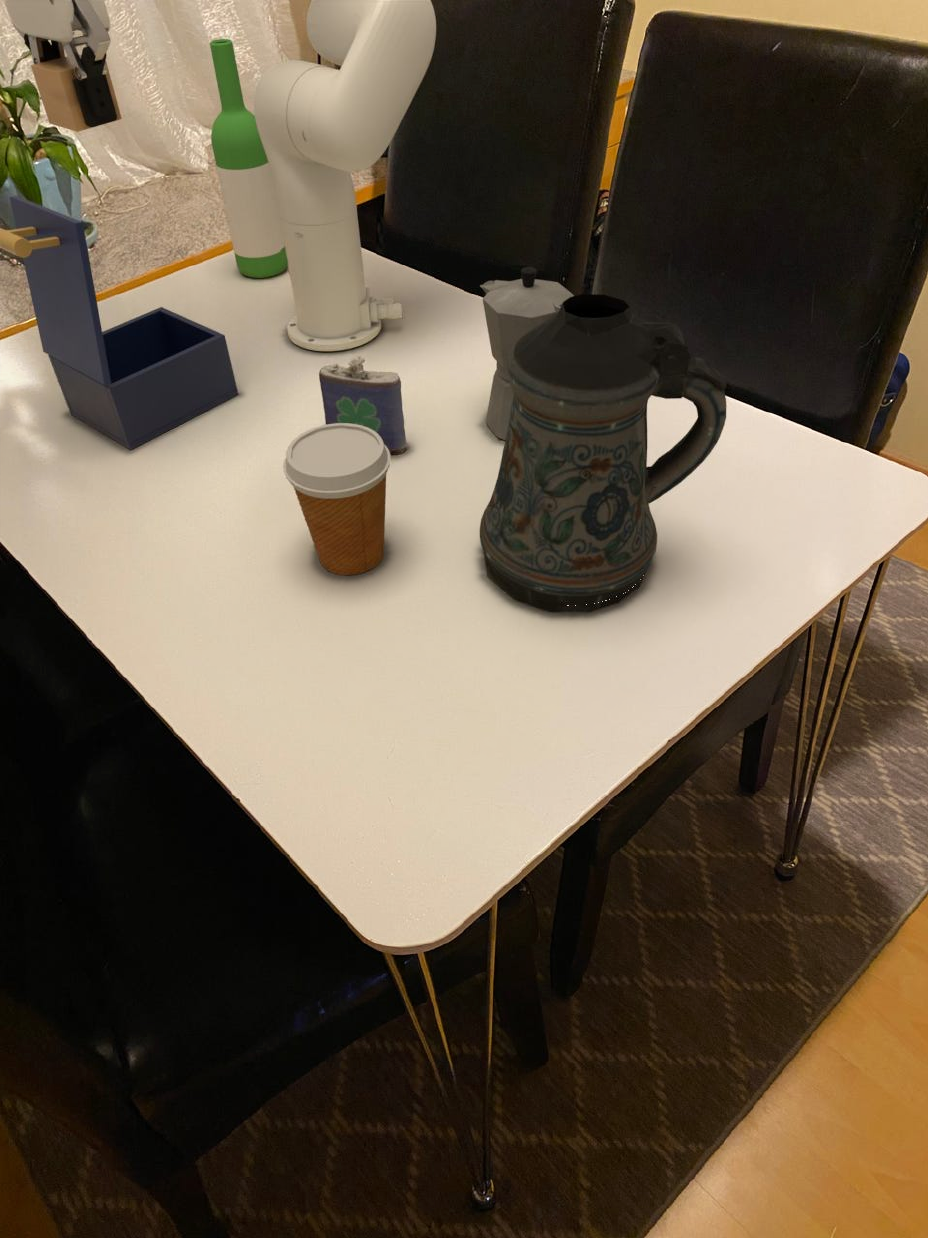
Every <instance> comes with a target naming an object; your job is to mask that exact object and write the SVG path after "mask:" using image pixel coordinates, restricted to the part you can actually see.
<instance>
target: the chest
mask: <svg viewBox="0 0 928 1238" xmlns="http://www.w3.org/2000/svg"><path fill="white" fill-rule="evenodd" d="M102 334H103V340H104V345H105V351H106V357H107V362H108V368H109V374H110V379H111V384H109V385H103V384H101V383H99V382H97V381H96V380H94V379H92V378H90V377H88V376H87V375H85V374H83V373H81V372H79V371H77V370H76V369H74V368H72V367H70V366H68V365H66V364H65V363H63V362H61V361H59V360H57V359H56V358H54V357H52V356H50V355H48V354H47V356H48V358H49V362H50V365H51V367H52V369H53V372H54V374H55V377H56V379H57V382H58V385H59V387H60V390H61V393H62V395H63V398H64V401H65V403H66V405H67V408H68V411H69V413H70V415H71V416H73V417H75V418H76V419H78V420H79V421H81V422H82V423H84V424H86V425H88V427H91V428H92V429H94V430H96V431H98V432H99V433H101V434H102V435H104V436H106V437H108V438H109V439H111V440H113V441H114V442H116V443H118V444H119V445H121V446H123V447H125V449H128V450H130V451H132V450H134V449H136V448H137V447H140V446H142V445H144V444H145V443H147V442H149V441H151V440H153V439H155V438H157V437H159V436H161V435H163V434H165V433H167V432H169V431H171V430H173V429H174V428H176V427H179V426H180V425H182V424H184V423H186V422H188V421H190V420H193V419H194V418H196V417H198V416H200V415H202V414H204V413H206V412H208V411H210V410H212V409H213V408H215V407H217V406H219V405H222V404H223V403H225V402H227V401H229V400H231V399H233V398H236V397H237V396H238V395H239V390H238V385H237V382H236V378H235V373H234V369H233V365H232V360H231V356H230V352H229V347H228V343H227V339H226V335H225V334H223V333H221V332H219V331H216V330H214V329H213V328H210V327H208V326H205V325H203V324H201V323H198V322H196V321H194V320H193V319H190V318H187V317H185V316H183V315H180V314H178V313H176V312H174V311H171V310H170V309H168V308H165V307H163V306H160V307H158V308H154V309H153V310H151V311H148V312H146V313H144V314H140V315H138V316H136V317H134V318H131V319H129V320H127V321H125V322H122V323H120V324H118V325H115V326H113V327H110V328H108V329H106V330H102Z"/></svg>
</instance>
